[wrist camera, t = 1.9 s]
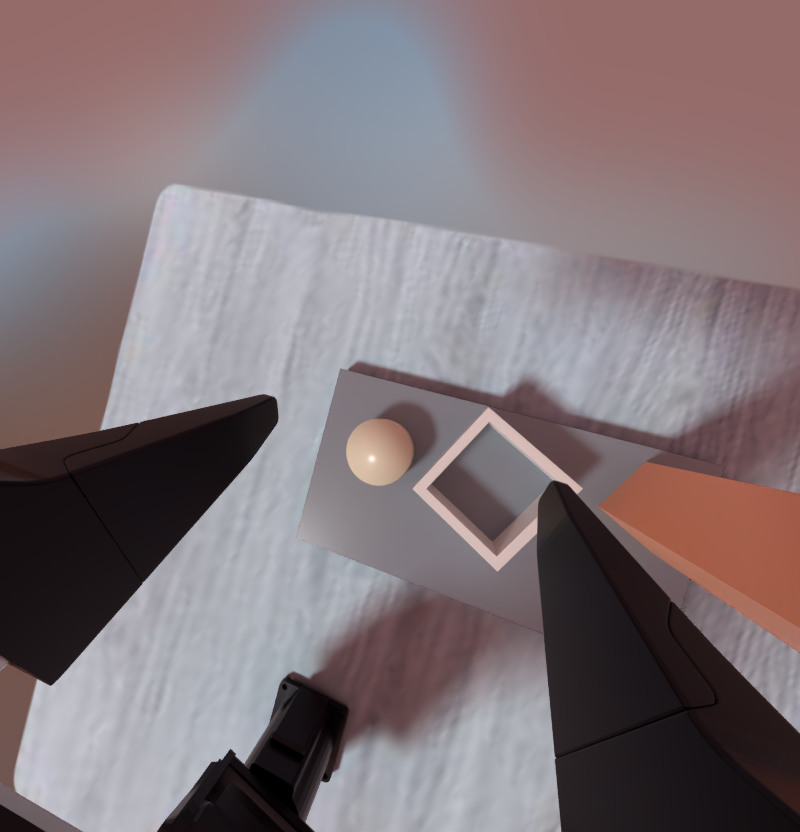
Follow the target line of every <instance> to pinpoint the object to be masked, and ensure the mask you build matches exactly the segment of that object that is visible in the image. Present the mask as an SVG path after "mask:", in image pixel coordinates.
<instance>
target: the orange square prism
mask: <svg viewBox="0 0 800 832" xmlns="http://www.w3.org/2000/svg"><path fill="white" fill-rule="evenodd" d="M598 507H599V508H600V509H602V510H603V511H604V512H605V513H606V514H607V515H609V516H610V517H611V518H612V519H613V520H614V521H615V522H617V523H618V524H619V525H620V526H621V527H622V528H624V529H625V530H626V531H627V532H628V533H629V534H630V535H632V536H633V537H634V538H635V539H636V540H637V541H639V542H640V543H641V544H642V545H643V546H644V547H645V548H647V549H648V550H649V551H650V552H651V553H653V554H654V555H656V556H657V557H659V558H660V559H661V560H663V561H664V562H666V563H667V564H669V565H670V566H672V567H673V568H675V569H676V570H678V571H679V572H681V573H682V574H684V575H685V576H687V577H688V578H690V579H691V580H693V581H694V582H695V583H697V584H698V585H700V586H701V587H703V588H704V589H706V590H707V591H709V592H710V593H712V594H713V595H715V596H716V597H718V598H719V599H721V600H722V601H724V602H725V603H727V604H728V605H730V606H731V607H732V608H734V609H735V610H737V611H738V612H740V613H741V614H743V615H744V616H746V617H747V618H749V619H750V620H752V621H753V622H755V623H756V624H758V625H759V626H761V627H762V628H764V629H765V630H767V631H768V632H769V633H771V634H772V635H774V636H775V637H777V638H778V639H780V640H781V641H783V642H784V643H786V644H787V645H789V646H790V647H792V648H793V649H795V650H796V651H798V652H799V653H800V494H796V493H792V492H787V491H782V490H777V489H773V488H768V487H763V486H758V485H754V484H749V483H744V482H739V481H735V480H730V479H725V478H720V477H716V476H711V475H706V474H701V473H697V472H692V471H687V470H683V469H678V468H673V467H668V466H664V465H659V464H654V463H649V462H645V463H644V464H642V465H641V466H640V467H639V468H638V469H637V470H636V471H635V472H634V473H633V474H632V475H631V476H630V477H629V478H628V479H627V480H626V481H625V482H624V483H623V484H621V485H620V486H619V487H618V488H617V489H616V490H615V491H614V492H613V493H612V494H611V495H610V496H609V497H608V498H607V499H606V500H605V501H604V502H603V503H602V504H601V505H599V506H598Z"/></svg>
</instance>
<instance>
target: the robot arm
mask: <svg viewBox="0 0 800 832" xmlns="http://www.w3.org/2000/svg"><path fill="white" fill-rule="evenodd" d="M277 422H278V407H277V400H276V398H275V397H272V396H269V395H265V394H262V395H257V396H253V397H249V398H244V399H240V400H235V401H231V402H227V403H222V404H218V405H213V406H209V407H205V408H200V409H196V410H191V411H187V412H183V413H178V414H174V415H169V416H165V417H161V418H156V419H152V420H147V421H143V422H140V423H134V424H130V425H125V426H121V427H116V428H111V429H107V430H102V431H98V432H92V433H87V434H82V435H77V436H71V437H66V438H61V439H56V440H50V441H44V442H39V443H33V444H28V445H22V446H17V447H11V448H6V449H0V670H1V669H2V668H4V667H5V666H6V665H7V664H9V665H11V666H13V667H15V668H17V669H19V670H21V671H23V672H25V673H27V674H29V675H31V676H33V677H34V678H36V679H38V680H40V681H42V682H44V683H46V684H48V685H50V686H51V685H53V684H54V683H55V682H56V681H57V680H58V679H59V678H60V677H61V676H62V675H63V674H64V672H65V671H66V670H67V669H68V668H69V667H70V666H71V664H72V663H73V662H74V661H75V660H76V659H77V658H78V657H79V655H80V654H81V653H82V652H83V651H84V650H85V649H86V647H87V646H88V645H89V644H90V643H91V642H92V641H93V639H94V638H95V637H96V636H97V635H98V634H99V633H100V631H101V630H102V629H103V628H104V627H105V626H106V625H107V624H108V622H109V621H110V620H111V619H112V618H113V617H114V616H115V614H116V613H117V612H118V611H119V610H120V609H121V608H122V606H123V605H124V604H125V603H126V602H127V601H128V600H129V599H130V597H131V596H132V595H133V594H134V593H135V592H136V591H137V589H138V588H139V587H140V586H141V585H142V584H143V582H144V581H145V580H146V579H147V578H148V577H149V576H150V574H151V573H152V572H153V571H154V570H155V569H156V568H157V566H158V565H159V564H160V563H161V562H162V561H163V560H164V558H165V557H166V556H167V555H168V554H169V553H170V552H171V551H172V549H173V548H174V547H175V546H176V545H177V544H178V543H179V541H180V540H181V539H182V538H183V537H184V536H185V535H186V533H187V532H188V531H189V530H190V529H191V528H192V527H193V526H194V524H195V523H196V522H197V521H198V520H199V519H200V518H201V516H202V515H203V514H204V513H205V512H206V511H207V510H208V508H209V507H210V506H211V505H212V504H213V503H214V502H215V501H216V499H217V498H218V497H219V496H220V495H221V494H222V493H223V491H224V490H225V489H226V488H227V487H228V486H229V485H230V483H231V482H232V481H233V480H234V479H235V478H236V477H237V476H238V474H239V473H240V472H241V471H242V470H243V469H244V468H245V466H246V465H247V464H248V463H249V462H250V461H251V459H252V458H253V457H254V455H255V454H256V453H257V451H258V450H259V449H260V447H261V446H262V444H263V443H264V442H265V440H266V439H267V437H268V436H269V434H270V433H271V432H272V430H273V429H274V427H275V426H276V424H277ZM537 565H538V576H539V587H540V598H541V609H542V620H543V631H544V642H545V653H546V664H547V675H548V686H549V697H550V708H551V719H552V730H553V741H554V752H555V757H556V759H555V765H556V777H557V788H558V799H559V810H560V821H561V832H800V733H799V732H798V731H797V730H796V729H795V728H794V727H793V726H792V725H791V724H790V723H789V722H788V721H787V720H786V719H785V718H784V717H783V716H782V715H781V714H780V713H779V712H778V711H777V710H776V709H775V708H774V707H773V706H772V705H771V704H770V703H769V702H768V701H767V700H766V699H765V698H764V697H763V696H762V695H761V694H760V693H759V692H758V691H757V690H756V689H755V688H754V687H753V686H752V685H751V684H750V683H749V682H748V681H747V680H746V679H745V678H744V677H743V676H742V675H741V674H740V672H739V671H738V670H737V669H736V668H735V667H734V666H733V665H732V664H731V663H730V662H729V661H728V660H727V659H726V658H725V657H724V656H723V655H722V654H721V653H720V652H719V651H718V650H717V649H716V648H715V647H714V646H713V645H712V643H711V642H710V641H709V640H708V639H707V638H706V637H705V636H704V635H703V634H702V633H701V632H700V630H699V629H698V628H697V627H696V626H695V625H694V624H693V623H692V622H691V621H690V620H689V619H688V617H687V616H686V615H685V614H684V613H683V612H682V611H681V610H680V608H679V607H678V606H677V605H676V604H675V603H674V602H671V599H670V597H669V596H668V595H667V594H666V593H665V592H664V591H663V590H662V588H661V587H660V586H659V585H658V584H657V583H656V582H655V581H654V580H653V578H652V577H651V576H650V575H649V574H648V573H647V572H646V571H645V570H644V568H643V567H642V566H641V565H640V564H639V563H638V562H637V561H636V560H635V558H634V557H633V556H632V555H631V554H630V553H629V552H628V551H627V549H626V548H625V547H624V546H623V545H622V544H621V543H620V542H619V541H618V539H617V538H616V537H615V536H614V535H613V534H612V533H611V532H610V531H609V529H608V528H607V527H606V526H605V525H604V524H603V523H602V522H601V521H600V519H599V518H598V517H597V516H596V515H595V514H594V513H593V512H592V510H591V509H590V508H589V507H588V506H587V505H586V504H585V503H584V502H583V500H582V499H581V498H580V497H579V496H578V495H577V494H576V493H575V492H574V490H573V489H572V488H571V487H570V486H569V485H568V484H566V483H563V482H559V481H556V480H553V481H551V482H550V483H549V485H548V486H547V488H546V489H545V491H544V492H543V494H542V496H541V497H540V499H539V502H538V519H537ZM285 684H286V685H287V686H286V685H285ZM342 713H343V714H342ZM348 713H349V711H348V709H347V707H346V706H344V705H342V704H340V703H338V702H336V701H334V700H332V699H330V698H328V697H326V696H324V695H322V694H320V693H318V692H316V691H314V690H312V689H310V688H308V687H306V686H304V685H302V684H300V683H298V682H296V681H294V680H292V679H290V678H287V677H286V678H284V679H283V680H282V681H281V683H280V685H279V689H278V693H277V697H276V700H275V704H274V708H273V712H272V716H271V719H270V723H269V725H268V727H267V728H266V730H265V732H264V733H263V735H262V736H261V738H260V740H259V741H258V743H257V744H256V746H255V748H254V749H253V751H252V752H251V754H250V756H249V757H248V759H247V760H246V762H245V763H244V764H243V763H242V762H241V761H240V760H239V759H238V758H237V757H236V756H235V755H236V753H234V752H233V751H232V750H231V749H230V750H229V751H228V753H227V754H226V756H225V757H224V758H223V760H221V759H219V761H218V762H211V763H210V765H209V766H208V768H207V769H206V770H205V772H204V773H203V774H202V776H201V777H200V779H199V780H198V781H197V783H196V784H195V785H194V787H193V788H192V789H191V791H190V792H189V793H188V794H187V795H186V797H185V798H184V799H183V800H182V801H181V802H180V804H179V805H178V806H177V807H176V808H175V809H174V811H173V812H172V813H171V814H170V815H169V816H168V818H167V819H166V820H165V821H164V823H163V824H162V825H161V827H160V828H159V830H158V831H157V832H315V831H314V830H312V829H311V828H310V827H309V826H308V825H307V824H306V823H305V821H306V819H307V816H308V814H309V811H310V808H311V806H312V803H313V801H314V798H315V795H316V793H317V790H318V788H319V785H320V782H321V781H323V782H329V780H330V778H331V775H332V772H333V769H334V765H335V761H336V758H337V754H338V750H339V747H340V743H341V739H342V736H343V732H344V728H345V725H346V721H347V717H348ZM0 832H82V831H81V830H79V829H77V828H76V827H74V826H72V825H71V824H69V823H67V822H65V821H64V820H62V819H60V818H59V817H57V816H55V815H54V814H52V813H50V812H49V811H47V810H45V809H43V808H42V807H40V806H38V805H37V804H35V803H33V802H32V801H30V800H28V799H26V798H25V797H23V796H21V795H20V794H18V793H16V792H15V791H13V790H11V789H9V788H8V787H6V786H4V785H3V784H1V783H0Z"/></svg>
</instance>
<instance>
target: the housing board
mask: <svg viewBox="0 0 800 832" xmlns="http://www.w3.org/2000/svg"><path fill="white" fill-rule="evenodd" d="M645 462H649V463H654V464H659V465H664V466H668V467H673V468H678V469H683V470H687V471H692V472H697V473H701V474H706V475H711V476H716V477H720V478H721V477H722V474H723V470H724V467H725V466H722V465H718V464H714V463H710V462H706V461H702V460H698V459H694V458H690V457H686V456H682V455H679V454H675V453H671V452H667V451H663V450H659V449H655V448H651V447H647V446H643V445H639V444H635V443H631V442H627V441H623V440H620V439H616V438H612V437H608V436H604V435H600V434H596V433H592V432H588V431H584V430H580V429H576V428H572V427H568V426H564V425H560V424H557V423H553V422H549V421H545V420H541V419H537V418H533V417H529V416H525V415H521V414H517V413H513V412H509V411H505V410H501V409H497V408H494V407H490V406H486V405H482V404H478V403H474V402H470V401H466V400H462V399H458V398H454V397H450V396H446V395H442V394H438V393H434V392H431V391H427V390H423V389H419V388H415V387H411V386H407V385H403V384H399V383H395V382H391V381H387V380H383V379H379V378H375V377H371V376H368V375H364V374H360V373H356V372H352V371H348V370H344V369H340V372H339V376H338V379H337V383H336V387H335V391H334V395H333V399H332V402H331V406H330V410H329V414H328V418H327V421H326V425H325V429H324V433H323V437H322V441H321V444H320V448H319V452H318V456H317V460H316V463H315V467H314V471H313V475H312V479H311V482H310V486H309V490H308V494H307V498H306V502H305V505H304V509H303V513H302V517H301V521H300V524H299V528H298V532H297V536H296V538H298V539H301V540H303V541H306V542H309V543H311V544H314V545H316V546H319V547H321V548H324V549H326V550H329V551H332V552H334V553H337V554H339V555H342V556H344V557H347V558H350V559H352V560H355V561H357V562H360V563H362V564H365V565H368V566H370V567H373V568H375V569H378V570H380V571H383V572H386V573H388V574H391V575H393V576H396V577H398V578H401V579H403V580H406V581H409V582H411V583H414V584H416V585H419V586H421V587H424V588H427V589H429V590H432V591H434V592H437V593H439V594H442V595H445V596H447V597H450V598H452V599H455V600H457V601H460V602H462V603H465V604H468V605H470V606H473V607H475V608H478V609H480V610H483V611H486V612H488V613H491V614H493V615H496V616H498V617H501V618H504V619H506V620H509V621H511V622H514V623H516V624H519V625H522V626H524V627H527V628H529V629H532V630H534V631H537V632H539V633H542V634H544V631H543V620H542V609H541V598H540V587H539V576H538V565H537V519H538V502H539V499H540V497H541V496H542V494H543V492H544V491H545V489H546V488H547V486H548V485H549V483H550V482H551V481H553V480H556V481H559V482H563V483H566V484H568V485H569V486H570V487H571V488H572V489H573V490H574V492H575V493H576V494H577V495H578V496H579V497H580V498H581V499H582V500H583V502H584V503H585V504H586V505H587V506H588V507H589V508H590V509H591V510H592V512H593V513H594V514H595V515H596V516H597V517H598V518H599V519H600V521H601V522H602V523H603V524H604V525H605V526H606V527H607V528H608V529H609V531H610V532H611V533H612V534H613V535H614V536H615V537H616V538H617V539H618V541H619V542H620V543H621V544H622V545H623V546H624V547H625V548H626V549H627V551H628V552H629V553H630V554H631V555H632V556H633V557H634V558H635V560H636V561H637V562H638V563H639V564H640V565H641V566H642V567H643V568H644V570H645V571H646V572H647V573H648V574H649V575H650V576H651V577H652V578H653V580H654V581H655V582H656V583H657V584H658V585H659V586H660V587H661V588H662V590H663V591H664V592H665V593H666V594H667V595H668V596H669V597H670V599H671V602H674V603H675V604H676V605H677V606H678V607H679V608H680V610H681V607H682V604H683V601H684V597H685V594H686V591H687V588H688V584H689V581H690V578H688V577H687V576H685V575H684V574H682V573H681V572H679V571H678V570H676V569H675V568H673V567H672V566H670V565H669V564H667V563H666V562H664V561H663V560H661V559H660V558H659V557H657V556H656V555H654V554H653V553H651V552H650V551H649V550H648V549H647V548H645V547H644V546H643V545H642V544H641V543H640V542H639V541H637V540H636V539H635V538H634V537H633V536H632V535H630V534H629V533H628V532H627V531H626V530H625V529H624V528H622V527H621V526H620V525H619V524H618V523H617V522H615V521H614V520H613V519H612V518H611V517H610V516H609V515H607V514H606V513H605V512H604V511H603V510H602V509H600V508H599V507H598V506H599V505H601V504H602V503H603V502H604V501H605V500H606V499H607V498H608V497H609V496H610V495H611V494H612V493H613V492H614V491H615V490H616V489H617V488H618V487H619V486H620V485H621V484H623V483H624V482H625V481H626V480H627V479H628V478H629V477H630V476H631V475H632V474H633V473H634V472H635V471H636V470H637V469H638V468H639V467H640V466H641V465H642V464H644V463H645Z"/></svg>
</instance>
